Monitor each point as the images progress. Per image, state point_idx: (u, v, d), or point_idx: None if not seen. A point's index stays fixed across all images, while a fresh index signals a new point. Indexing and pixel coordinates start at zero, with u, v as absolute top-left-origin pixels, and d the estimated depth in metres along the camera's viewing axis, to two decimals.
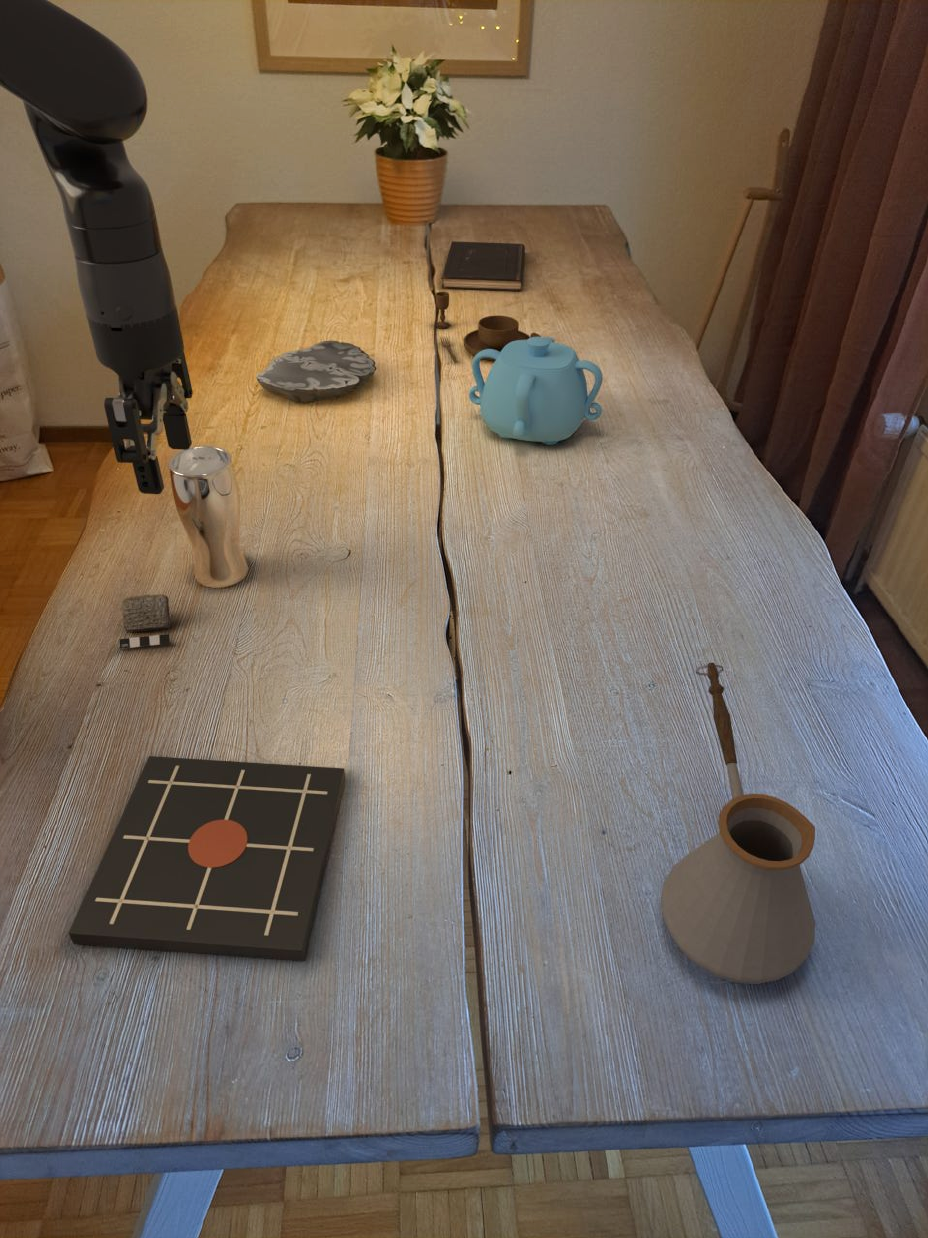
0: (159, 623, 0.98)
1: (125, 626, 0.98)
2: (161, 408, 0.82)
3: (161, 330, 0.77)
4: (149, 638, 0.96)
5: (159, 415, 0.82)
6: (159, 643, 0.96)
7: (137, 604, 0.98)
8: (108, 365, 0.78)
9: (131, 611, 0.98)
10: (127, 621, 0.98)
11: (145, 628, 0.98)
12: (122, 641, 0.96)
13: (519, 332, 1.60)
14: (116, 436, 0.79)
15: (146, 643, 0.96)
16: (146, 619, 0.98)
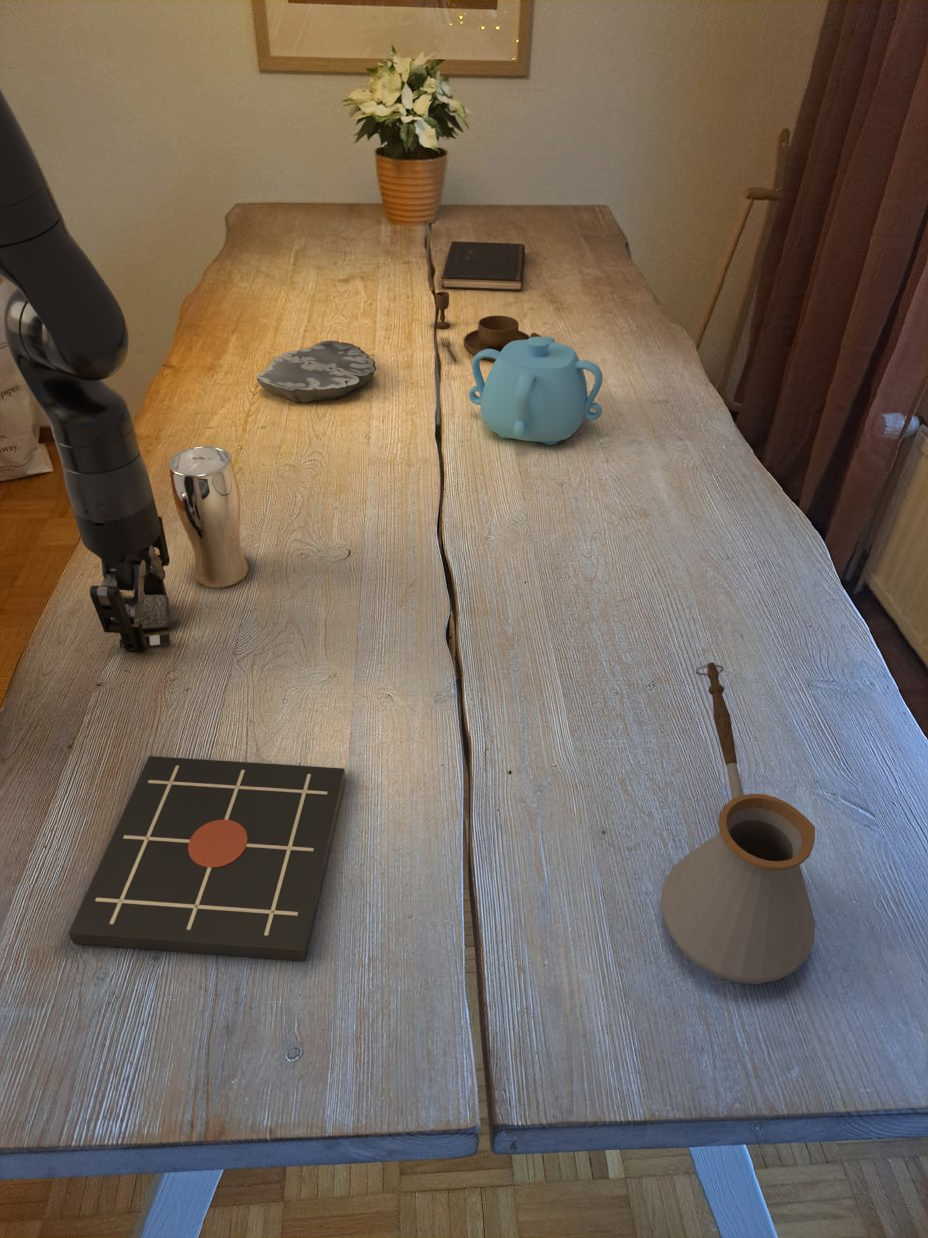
0: (159, 623, 0.98)
1: None
2: (140, 582, 0.91)
3: (139, 521, 0.87)
4: (149, 638, 0.96)
5: (138, 589, 0.91)
6: (159, 643, 0.96)
7: None
8: (92, 551, 0.88)
9: None
10: None
11: (145, 628, 0.98)
12: None
13: (519, 332, 1.60)
14: (102, 616, 0.89)
15: None
16: (146, 619, 0.98)
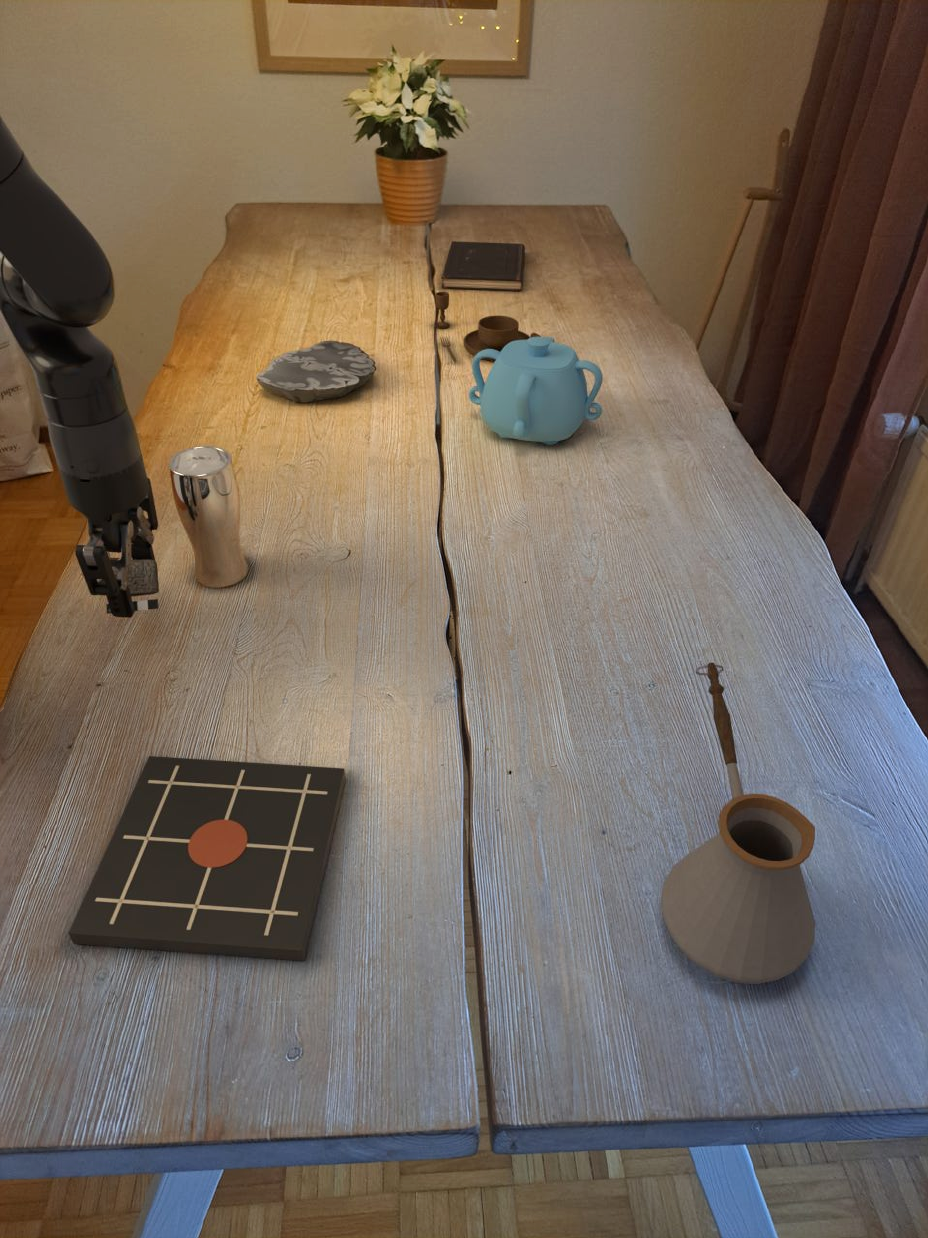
0: (147, 588, 0.95)
1: None
2: (128, 543, 0.89)
3: (127, 479, 0.84)
4: (137, 603, 0.94)
5: (126, 550, 0.88)
6: (147, 608, 0.94)
7: None
8: (78, 509, 0.85)
9: None
10: None
11: (132, 593, 0.95)
12: None
13: (519, 332, 1.60)
14: (88, 577, 0.86)
15: (134, 608, 0.93)
16: (134, 584, 0.95)
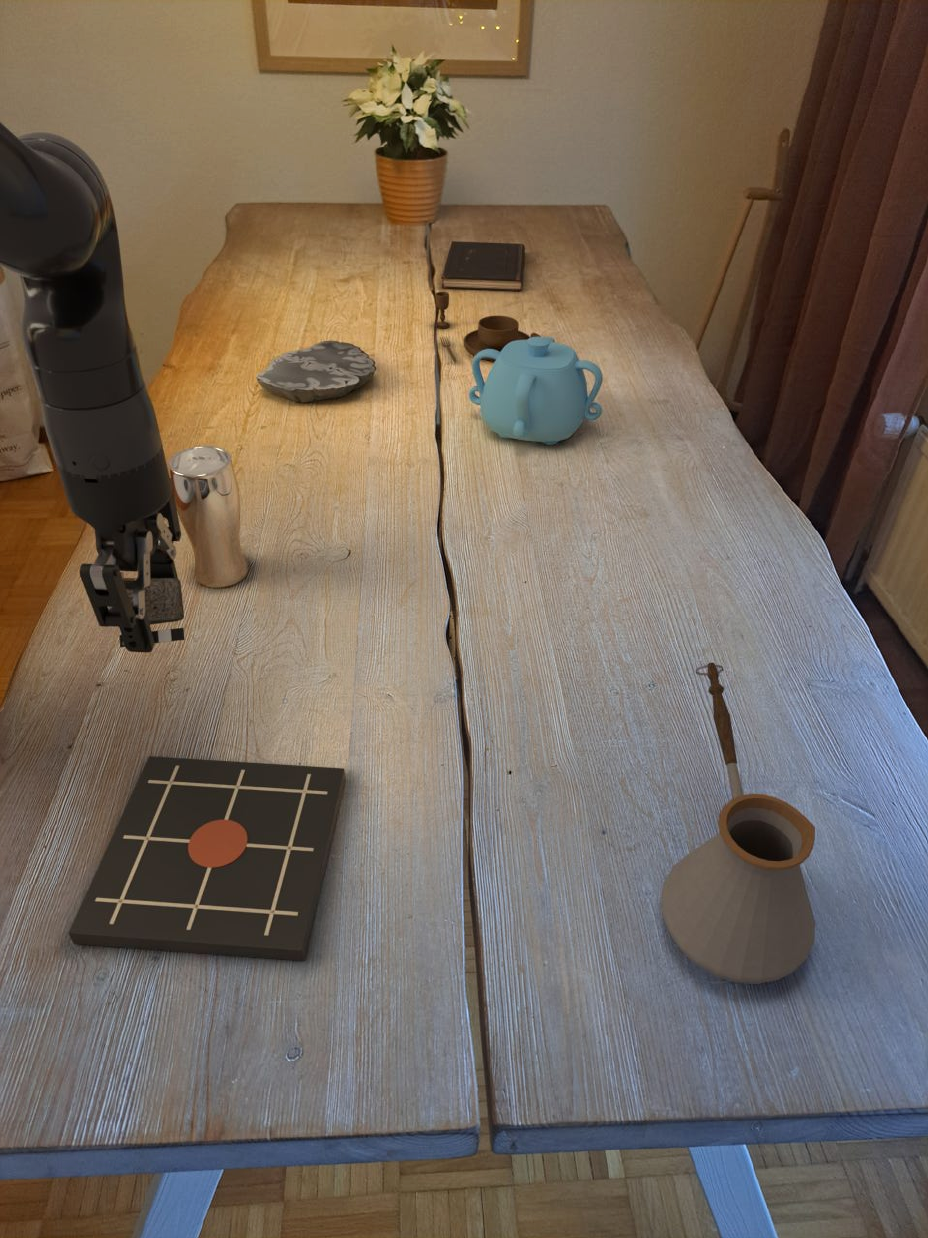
0: (170, 614, 0.77)
1: None
2: (146, 560, 0.70)
3: (145, 478, 0.65)
4: (158, 634, 0.75)
5: (144, 569, 0.70)
6: (171, 640, 0.75)
7: None
8: (82, 518, 0.66)
9: None
10: None
11: (151, 621, 0.76)
12: None
13: (519, 332, 1.60)
14: (96, 604, 0.67)
15: (154, 640, 0.75)
16: (153, 609, 0.76)
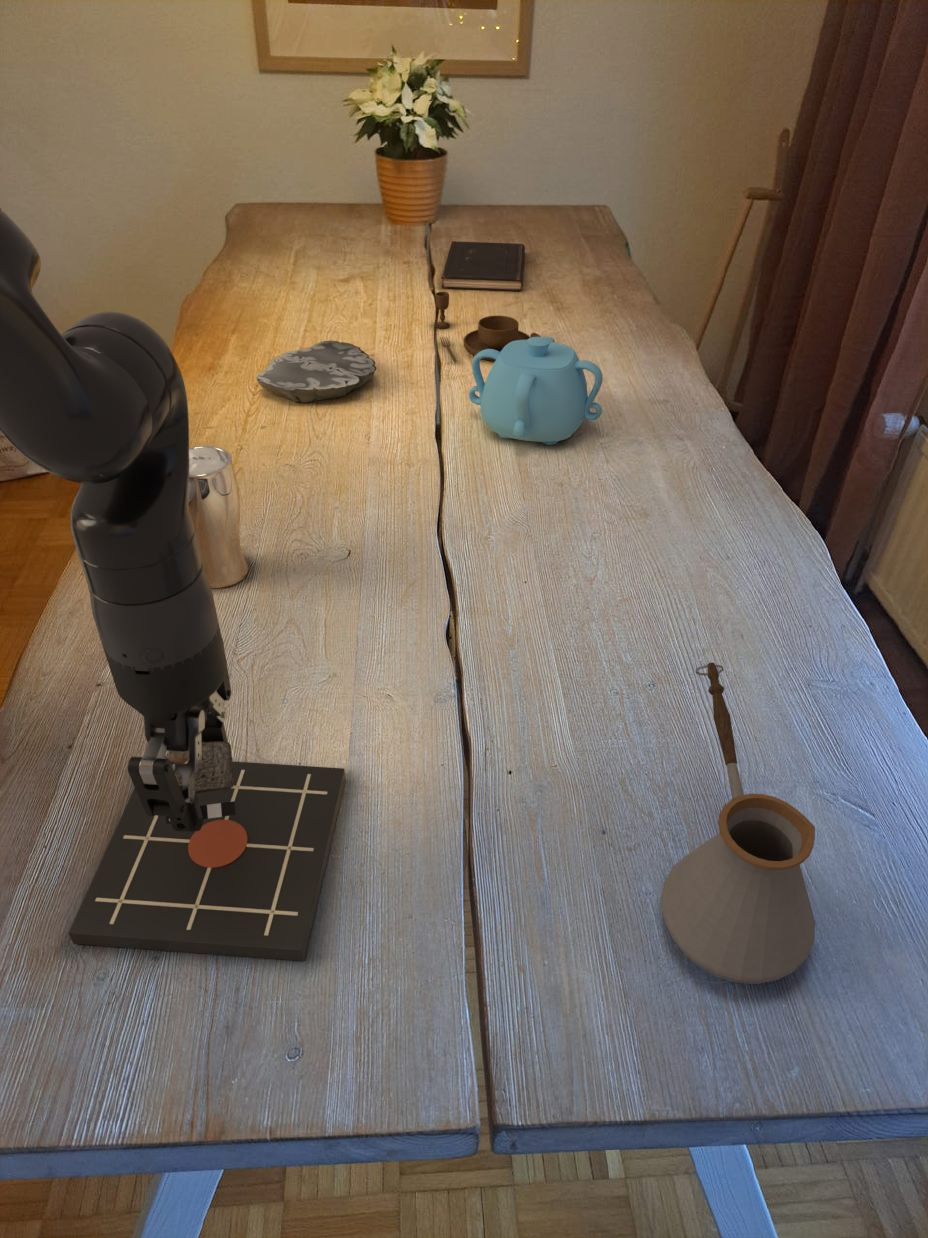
0: (219, 783, 0.71)
1: None
2: (197, 741, 0.64)
3: (200, 665, 0.59)
4: (207, 808, 0.69)
5: (195, 752, 0.64)
6: (221, 815, 0.69)
7: None
8: (131, 705, 0.60)
9: None
10: None
11: (199, 790, 0.70)
12: None
13: (519, 332, 1.60)
14: (144, 797, 0.61)
15: (203, 816, 0.69)
16: (201, 777, 0.70)
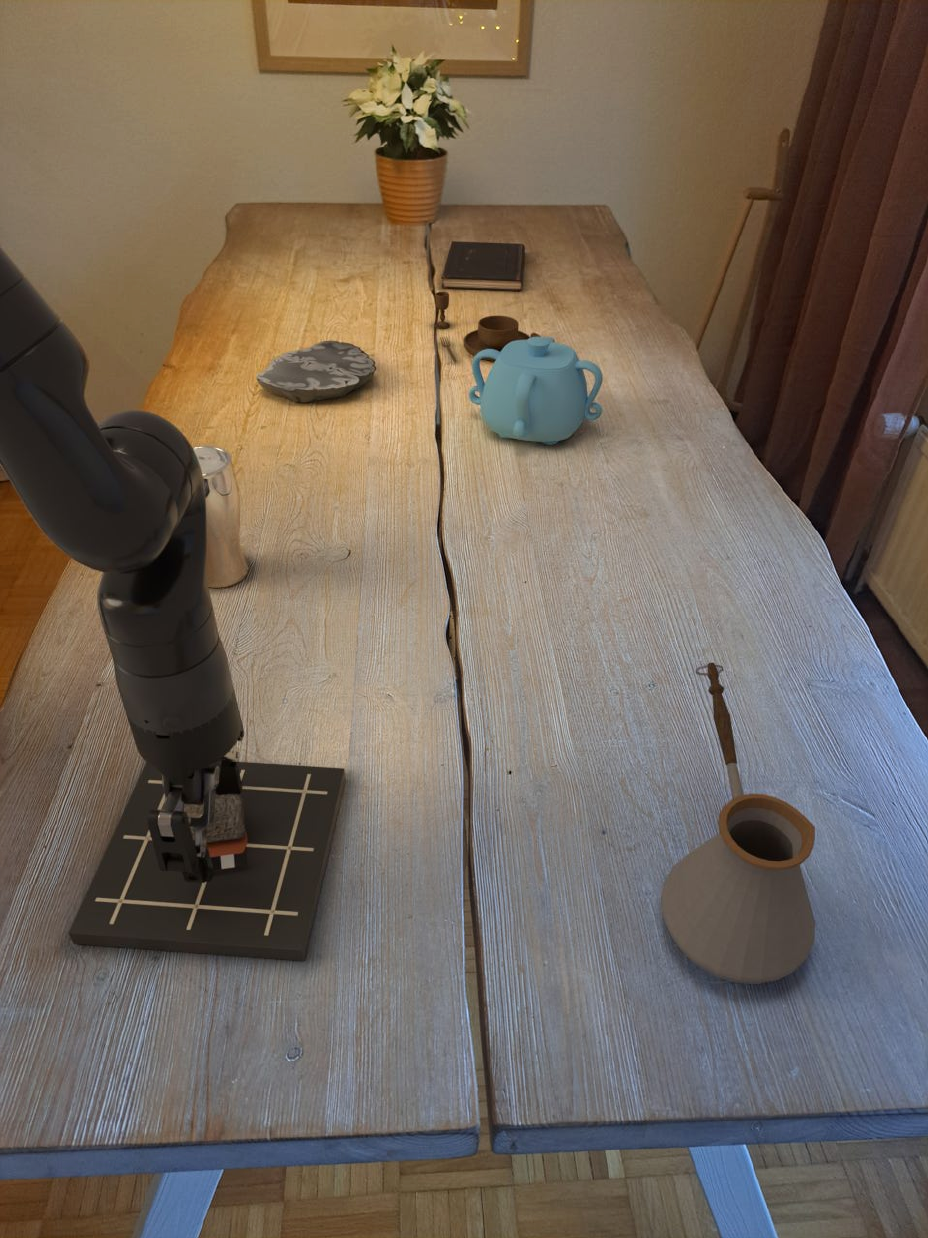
0: (232, 834, 0.75)
1: None
2: (213, 795, 0.68)
3: (216, 728, 0.63)
4: (221, 859, 0.73)
5: (211, 806, 0.68)
6: (234, 866, 0.73)
7: None
8: (151, 765, 0.64)
9: None
10: None
11: (213, 841, 0.75)
12: None
13: (519, 332, 1.60)
14: (160, 850, 0.65)
15: (217, 866, 0.73)
16: (215, 829, 0.74)
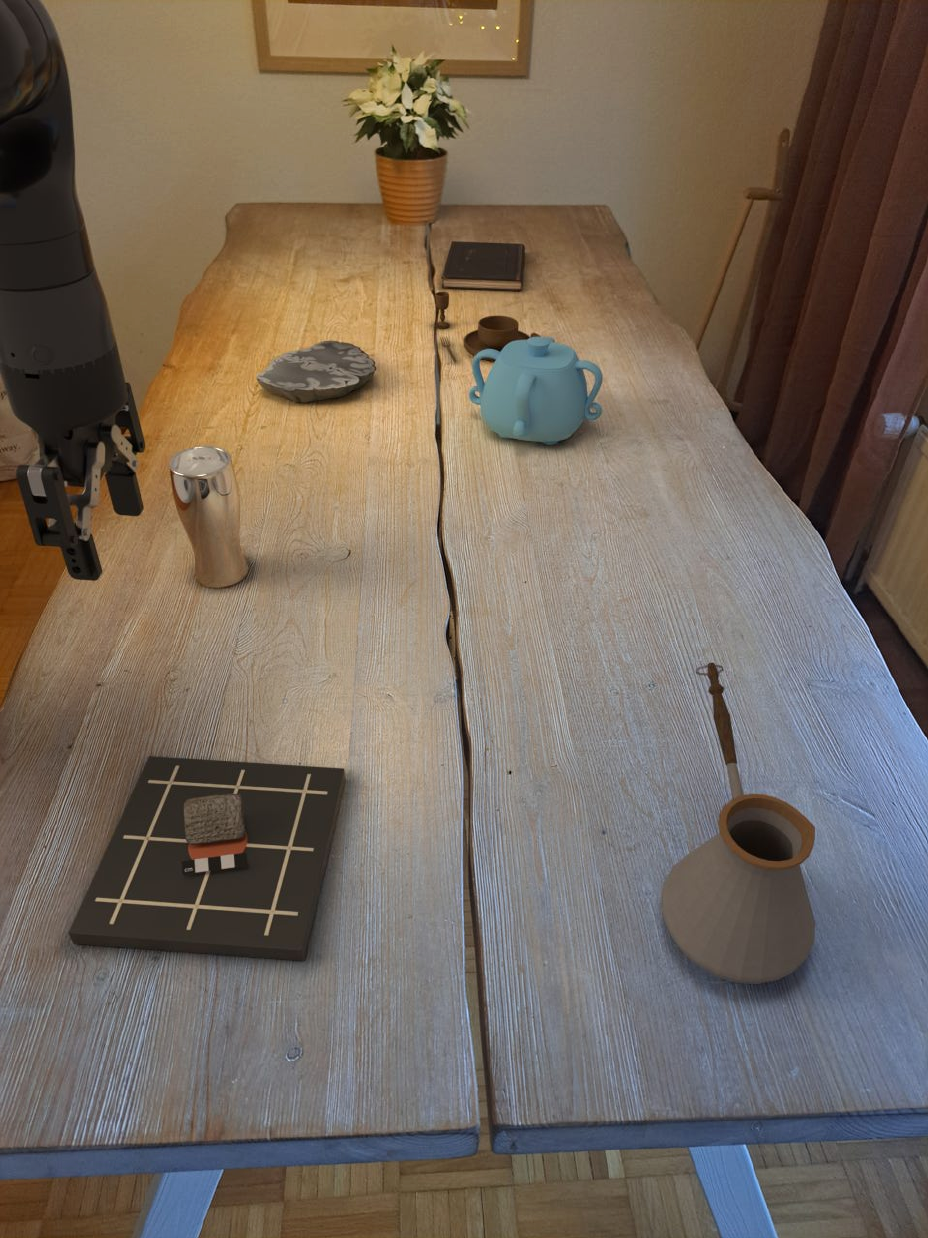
0: (232, 834, 0.75)
1: (188, 839, 0.74)
2: (97, 474, 0.63)
3: (94, 377, 0.59)
4: (221, 859, 0.73)
5: (94, 483, 0.63)
6: (234, 866, 0.73)
7: (203, 809, 0.75)
8: (24, 421, 0.60)
9: (195, 819, 0.74)
10: (190, 833, 0.74)
11: (213, 841, 0.75)
12: (185, 864, 0.73)
13: (519, 332, 1.60)
14: (33, 515, 0.60)
15: (217, 866, 0.73)
16: (215, 829, 0.74)
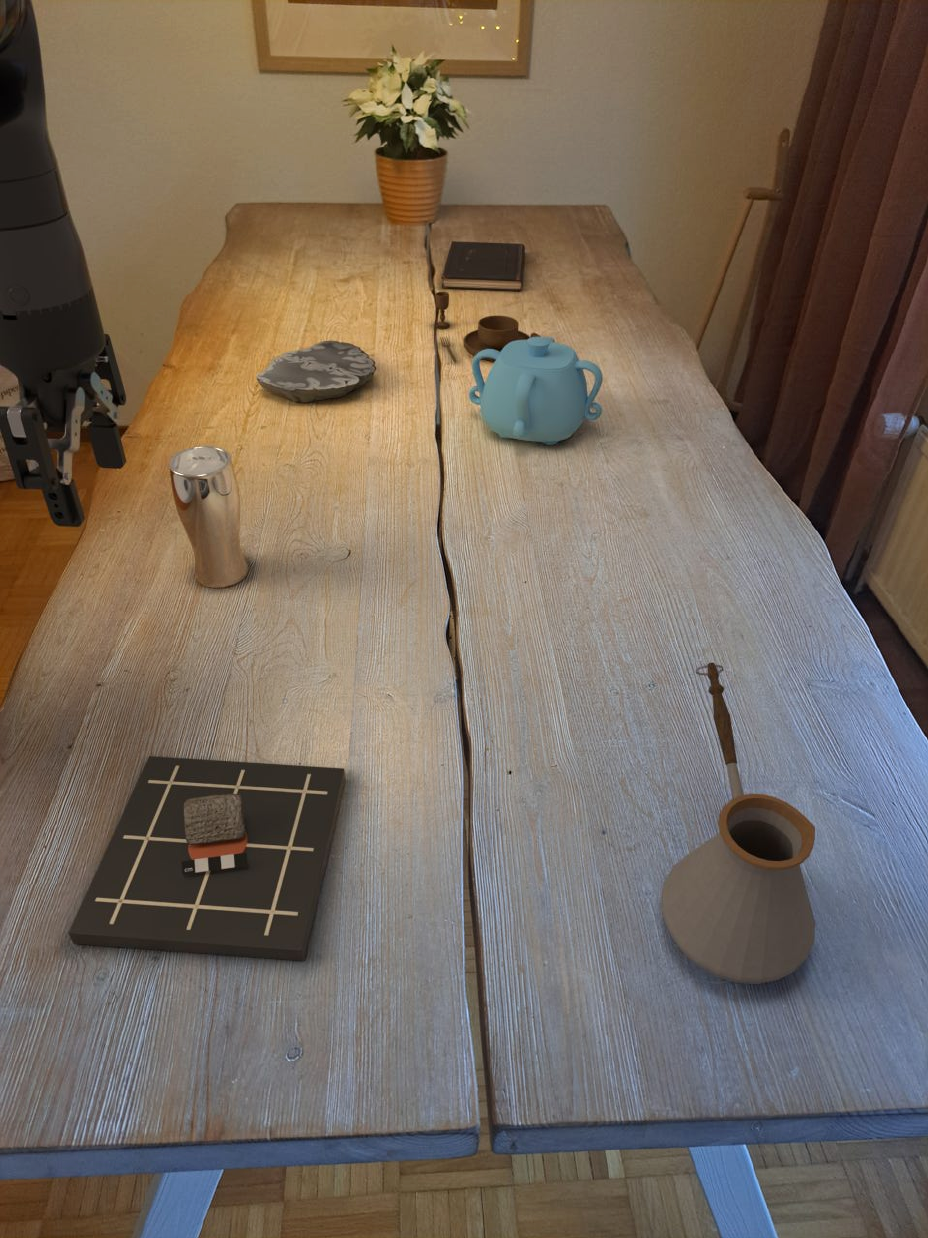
0: (232, 834, 0.75)
1: (188, 839, 0.74)
2: (77, 419, 0.64)
3: (70, 319, 0.60)
4: (221, 859, 0.73)
5: (74, 428, 0.64)
6: (234, 866, 0.73)
7: (203, 809, 0.75)
8: (4, 364, 0.61)
9: (195, 819, 0.74)
10: (190, 833, 0.74)
11: (213, 841, 0.75)
12: (185, 864, 0.73)
13: (519, 332, 1.60)
14: (14, 456, 0.61)
15: (217, 866, 0.73)
16: (215, 829, 0.74)
